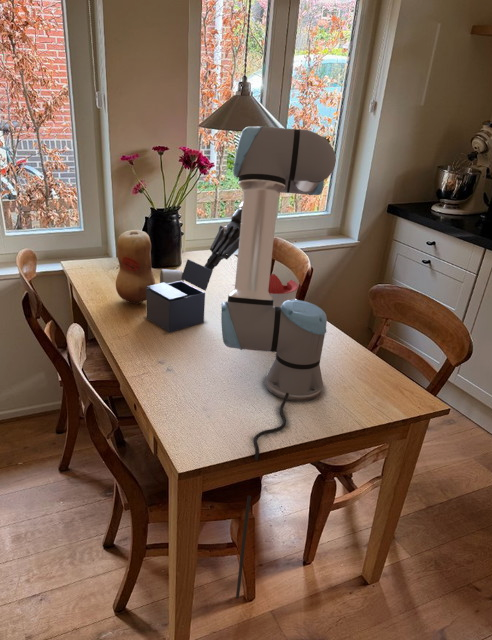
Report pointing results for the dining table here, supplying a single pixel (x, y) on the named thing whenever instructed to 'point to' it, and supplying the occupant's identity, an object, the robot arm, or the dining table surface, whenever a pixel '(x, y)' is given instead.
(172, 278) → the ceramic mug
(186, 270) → the flap
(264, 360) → the dining table surface
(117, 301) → the dining table surface
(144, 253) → the butternut squash
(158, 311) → the carton
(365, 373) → the dining table surface
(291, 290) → the citrus juicer
